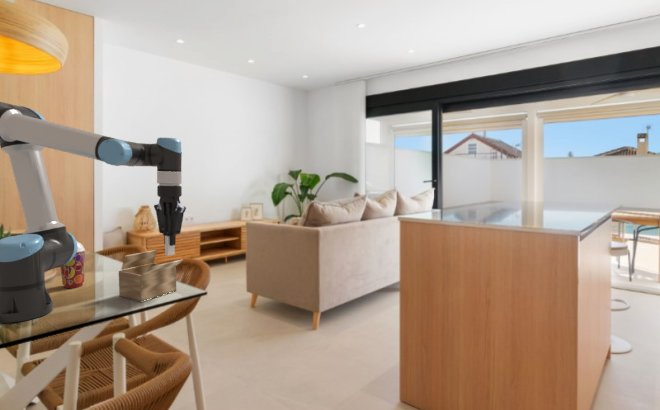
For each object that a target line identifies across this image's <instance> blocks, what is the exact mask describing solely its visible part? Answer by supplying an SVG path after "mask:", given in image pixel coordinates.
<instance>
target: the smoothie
mask: <svg viewBox="0 0 660 410" xmlns="http://www.w3.org/2000/svg"><path fill="white" fill-rule="evenodd" d="M70 234H71V235H73V233H70ZM73 236H74V235H73ZM76 242H77V252H76V255H75V256H74V258H73V259H72V260H71V261H70V262H68V263H66V264H65V265H63V266H61V267H60V273H61V280H62V281H61V282H62V285H63V287H64V288H65V289H76V288H80V287H82V286H83V284H84V282H85V269H86V267H85V264H86V248H84V245H83V244H82V243H80V242H79V241H77V240H76Z"/></svg>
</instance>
